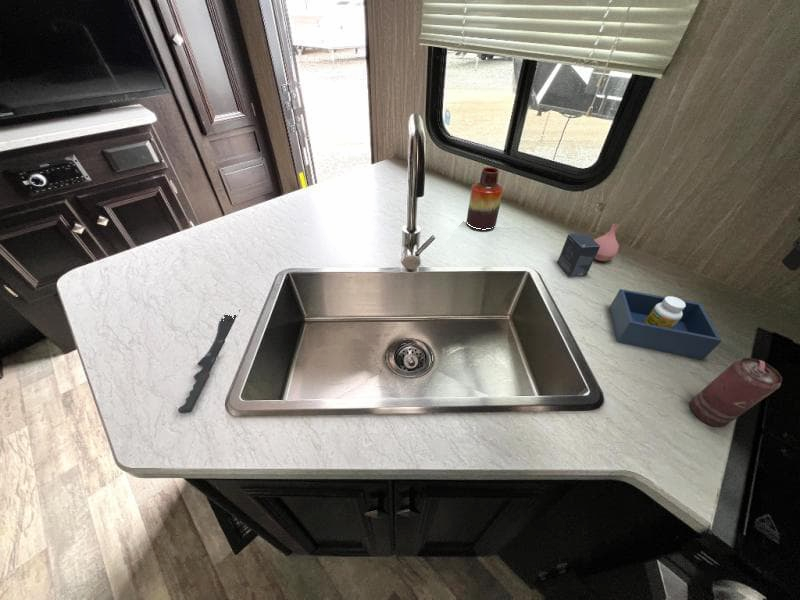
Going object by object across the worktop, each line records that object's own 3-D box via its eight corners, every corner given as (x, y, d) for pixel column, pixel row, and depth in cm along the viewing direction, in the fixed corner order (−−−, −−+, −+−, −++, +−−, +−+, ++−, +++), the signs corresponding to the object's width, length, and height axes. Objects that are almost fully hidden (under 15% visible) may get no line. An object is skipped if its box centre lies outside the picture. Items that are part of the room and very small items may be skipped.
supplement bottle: (671, 334, 77) (695, 305, 71) (657, 342, 75) (680, 313, 69) (649, 320, 81) (670, 291, 74) (635, 327, 79) (656, 298, 73)
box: (586, 276, 96) (601, 246, 88) (568, 277, 95) (582, 247, 88) (573, 261, 101) (586, 231, 94) (556, 262, 101) (568, 232, 94)
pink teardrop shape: (612, 255, 104) (630, 222, 96) (612, 267, 99) (630, 233, 91) (586, 249, 106) (601, 216, 98) (585, 261, 101) (600, 227, 93)
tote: (684, 322, 81) (701, 303, 77) (702, 360, 72) (722, 340, 68) (608, 307, 85) (620, 288, 81) (616, 341, 76) (630, 322, 72)
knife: (229, 303, 86) (229, 302, 86) (245, 303, 87) (244, 301, 86) (170, 413, 63) (168, 411, 62) (191, 412, 63) (190, 410, 62)
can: (725, 407, 63) (781, 364, 54) (728, 433, 59) (789, 392, 50) (688, 392, 66) (735, 349, 56) (689, 416, 62) (740, 374, 52)
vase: (483, 235, 114) (494, 178, 100) (460, 224, 120) (467, 169, 106) (501, 225, 119) (513, 170, 106) (477, 215, 125) (487, 161, 112)
